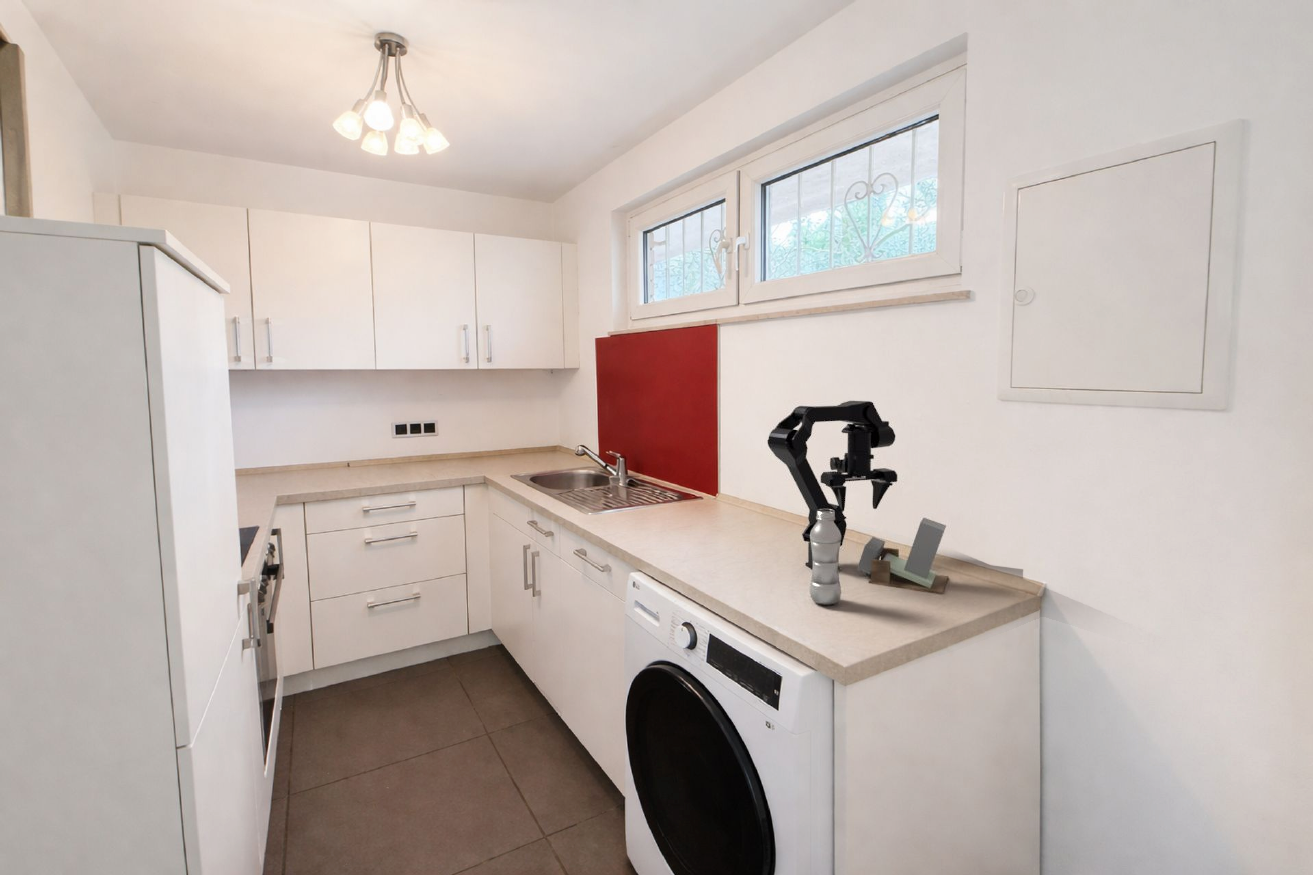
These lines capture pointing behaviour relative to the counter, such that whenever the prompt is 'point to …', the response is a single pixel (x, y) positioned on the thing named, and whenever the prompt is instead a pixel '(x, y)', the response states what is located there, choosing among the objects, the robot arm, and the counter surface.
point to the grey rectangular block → (924, 547)
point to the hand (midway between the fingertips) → (858, 509)
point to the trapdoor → (896, 563)
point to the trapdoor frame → (887, 578)
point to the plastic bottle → (825, 559)
